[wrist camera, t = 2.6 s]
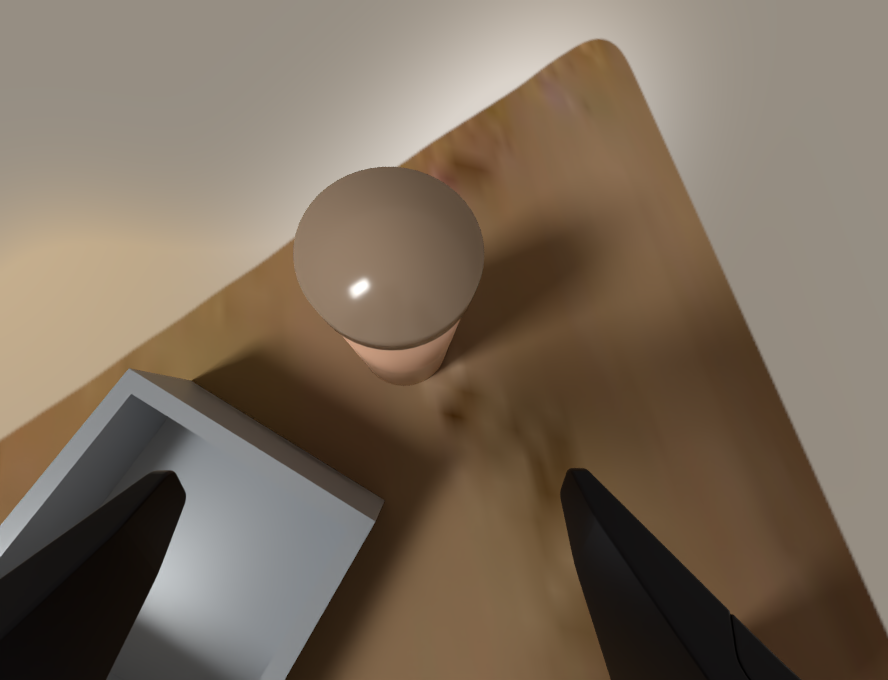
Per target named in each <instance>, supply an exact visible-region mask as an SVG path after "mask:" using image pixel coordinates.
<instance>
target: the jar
mask: <svg viewBox="0 0 888 680" xmlns="http://www.w3.org/2000/svg"><path fill="white" fill-rule="evenodd" d="M293 259H294V267H295V272H296V276H297V279H298V282H299V284H300V287H301V289H302V291H303V293H304V295H305V296H306V298H307V299H308V301H309V303H310V304H311V305H312V306H313V307H314V309H315V310H316V311H317V312H318V313H319V314H320V316H321V317H322V318H323V319H324V320H325V321H326V322H327V323H328V324H329V325H330V326H331V327H332V328H333V329H334V330H335V331H336V332H338V333H339V334H341V335H342V336H343V337H344V338H345V340H346V341H347V342H348V343H349V344H350V346H351V347H352V348H353V349H354V350H355V352H356V353H357V354H358V355H359V356H360V358H361V359H362V360H363V361H364V362H365V364H366V365H367V366H368V367H369V368H370V370H371V371H372V372H373V373H374V374H375V375H376V376H377V377H379V378H380V379H382V380H384V381H386V382H388V383H391V384H394V385H401V386H406V385H414V384H417V383H420V382H422V381H424V380H426V379H428V378H429V377H431V376H432V375H433V374H434V373H435V372H436V371H437V370H438V369H439V367H440V366H441V364H442V362H443V360H444V358H445V355H446V353H447V350H448V348H449V345H450V343H451V341H452V338H453V336H454V333H455V331H456V328H457V326H458V324H459V321H460V319H461V317H462V316H463V314H464V313H465V312H466V310H467V308H468V306H469V304H470V302H471V300H472V298H473V296H474V294H475V291H476V289H477V287H478V284H479V281H480V278H481V275H482V271H483V265H484V243H483V238H482V234H481V230H480V227H479V225H478V222H477V220H476V218H475V216H474V214H473V212H472V211H471V209H470V208H469V206H468V205H467V204H466V202H465V201H464V200H463V199H462V198H461V197H460V196H459V195H458V194H457V193H456V192H455V191H454V190H453V189H451V188H450V187H449V186H448V185H446V184H445V183H443V182H441V181H440V180H438V179H436V178H434V177H432V176H430V175H428V174H425V173H422V172H419V171H416V170H412V169H407V168H399V167H378V168H370V169H366V170H361V171H358V172H355V173H352V174H349V175H347V176H345V177H343V178H341V179H339V180H337V181H336V182H334V183H333V184H331V185H330V186H328V187H327V188H326V189H325V190H323V192H321V193H320V194H319V195H318V196H317V197H316V198H315V200H313V202H312V203H311V204H310V205H309V207H308V208H307V210H306V211H305V213H304V215H303V217H302V219H301V221H300V223H299V226H298V229H297V232H296V235H295V241H294V251H293Z"/></svg>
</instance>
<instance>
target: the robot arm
mask: <svg viewBox="0 0 888 680" xmlns="http://www.w3.org/2000/svg"><path fill="white" fill-rule="evenodd" d="M560 497H561V503H562V508H563V512H564V517H565V522H566V527H567V531H568V536H569V541H570V546H571V550H572V555H573V559H574V564H575V567H576V571H577V574H578V578H579V581H580V584H581V587H582V590H583V593H584V597H585V600H586V603H587V606H588V609H589V612H590V615H591V619H592V622H593V625H594V628H595V631H596V634H597V638H598V641H599V644H600V647H601V650H602V653H603V656H604V660H605V663H606V666H607V669H608V672H609V675H610V678H611V680H801V679H800V678H799V677H798V676H797V675H796V674H795V673H793V672H792V671H791V670H790V669H789V668H788V667H787V666H786V665H785V664H784V663H783V662H782V661H780V660H779V659H778V658H777V657H776V656H775V655H774V654H773V653H772V652H771V651H770V650H769V649H768V648H767V647H766V646H765V645H764V644H763V643H762V642H761V641H760V640H759V639H758V638H757V637H756V636H755V635H754V634H753V633H751V632H750V631H749V630H748V629H747V628H746V627H745V626H744V625H743V624H742V623H741V622H740V621H739V620H738V619H737V618H736V617H735V616H734V615H733V614H731V615H730V611H729V610H728V609H727V608H726V607H725V606H724V605H723V604H722V603H721V602H720V601H719V600H718V599H717V598H716V597H715V596H714V595H713V594H712V593H711V592H710V591H709V590H708V589H707V588H706V587H705V586H704V585H703V584H702V583H701V582H700V581H699V580H698V579H697V578H696V577H695V576H694V575H693V574H692V573H691V572H690V571H689V570H688V569H687V568H686V567H685V566H684V565H683V564H682V563H681V562H680V561H679V560H678V559H677V558H676V557H675V556H674V555H673V554H672V553H671V552H670V551H669V550H668V549H667V548H666V547H665V546H664V545H663V544H662V543H661V542H660V541H659V540H658V539H657V538H656V537H655V536H654V535H653V534H652V533H651V532H650V531H649V530H648V529H647V528H646V527H645V526H644V525H643V524H642V523H641V522H640V521H639V520H638V519H637V518H636V517H635V516H634V515H633V514H632V513H631V512H630V511H629V510H628V509H627V508H626V507H625V506H624V505H623V504H622V503H621V502H620V501H619V500H618V499H616V498H615V497H614V496H613V495H612V494H611V493H610V492H609V491H608V490H607V489H606V488H605V487H604V486H603V485H602V484H601V483H600V482H599V481H598V480H597V479H596V478H595V477H594V476H593V475H592V474H591V473H590V472H589V471H588V470H587V469H584V468H571V469H569V470H568V471H567V473H566V476H565V479H564V481H563V484H562V487H561V492H560ZM185 502H186V492H185V490H184V488H183V486H182V484H181V482H180V480H179V478H178V476H177V474H176V473H175V472H174V471H172V470H155V471H152V472H150V473H148V474H146V475H145V476H144V477H142V478H141V479H139V480H138V481H137V482H135V483H134V484H132V485H131V486H130V487H128V488H127V489H125V490H124V491H123V492H121V493H120V494H118V495H117V496H115V497H114V498H113V499H111V500H110V501H108V502H107V503H106V504H104V505H103V506H101V507H100V508H99V509H97V510H96V511H94V512H93V513H92V514H90V515H89V516H87V517H86V518H85V519H83V520H82V521H80V522H79V523H78V524H76V525H75V526H73V527H72V528H71V529H69V530H68V531H66V532H65V533H64V534H62V535H61V536H59V537H58V538H56V539H55V540H54V541H52V542H51V543H49V544H48V545H47V546H45V547H44V548H42V549H41V550H40V551H38V552H37V553H35V554H34V555H33V556H31V557H30V558H28V559H27V560H26V561H24V562H23V563H21V564H20V565H19V566H17V567H16V568H14V569H13V570H12V571H10V572H9V573H7V574H6V575H4V576H3V577H2V578H0V680H106V679H107V677H108V675H109V673H110V671H111V669H112V667H113V665H114V663H115V661H116V659H117V657H118V655H119V653H120V651H121V649H122V647H123V645H124V643H125V641H126V639H127V637H128V635H129V633H130V631H131V629H132V627H133V624H134V622H135V620H136V618H137V616H138V614H139V612H140V610H141V608H142V606H143V604H144V602H145V600H146V598H147V596H148V594H149V592H150V590H151V588H152V586H153V584H154V582H155V579H156V577H157V575H158V573H159V570H160V568H161V566H162V563H163V561H164V558H165V555H166V553H167V550H168V547H169V545H170V542H171V539H172V537H173V534H174V532H175V529H176V526H177V524H178V521H179V518H180V516H181V513H182V510H183V508H184V505H185Z"/></svg>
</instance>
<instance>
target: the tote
mask: <svg viewBox="0 0 888 680" xmlns="http://www.w3.org/2000/svg"><path fill="white" fill-rule="evenodd" d="M155 470H172V471H174V472H175V473H176V474H177V476H178V478H179V480H180V482H181V484H182V486H183V488H184V490H185V492H186V502H185V505H184V508H183V510H182V513H181V516H180V518H179V521H178V524H177V526H176V529H175V532H174V534H173V537H172V539H171V542H170V545H169V547H168V550H167V553H166V555H165V558H164V561H163V563H162V566H161V568H160V570H159V573H158V575H157V577H156V579H155V582H154V584H153V586H152V588H151V590H150V592H149V594H148V596H147V598H146V600H145V602H144V604H143V606H142V608H141V610H140V612H139V614H138V616H137V618H136V620H135V622H134V624H133V627H132V629H131V631H130V633H129V635H128V637H127V639H126V641H125V643H124V645H123V647H122V649H121V651H120V653H119V655H118V657H117V659H116V661H115V663H114V665H113V667H112V669H111V671H110V673H109V675H108V677H107V679H106V680H285V678H286V676H287V675H288V673H289V671H290V669H291V668H292V666H293V664H294V663H295V661H296V659H297V657H298V656H299V654H300V652H301V650H302V649H303V647H304V645H305V643H306V642H307V640H308V638H309V636H310V635H311V633H312V631H313V629H314V628H315V626H316V624H317V622H318V621H319V619H320V617H321V615H322V614H323V612H324V610H325V609H326V607H327V605H328V603H329V602H330V600H331V598H332V596H333V595H334V593H335V591H336V589H337V588H338V586H339V584H340V582H341V581H342V579H343V577H344V575H345V574H346V572H347V570H348V568H349V567H350V565H351V563H352V561H353V560H354V558H355V556H356V555H357V553H358V551H359V549H360V548H361V546H362V544H363V542H364V541H365V539H366V537H367V535H368V534H369V532H370V530H371V528H372V527H373V525H374V523H375V521H376V519H377V517H378V515H379V512H380V510H381V508H382V505H383V503H384V501H385V500H383V499H382V498H380V497H379V496H377V495H375V494H374V493H372V492H370V491H369V490H367V489H366V488H364V487H362V486H361V485H359V484H357V483H356V482H354V481H353V480H351V479H349V478H348V477H346V476H345V475H343V474H341V473H340V472H338V471H336V470H335V469H333V468H332V467H330V466H328V465H327V464H325V463H323V462H322V461H320V460H319V459H317V458H315V457H314V456H312V455H310V454H309V453H307V452H306V451H304V450H302V449H301V448H299V447H298V446H296V445H294V444H293V443H291V442H289V441H288V440H286V439H285V438H283V437H281V436H280V435H278V434H276V433H275V432H273V431H272V430H270V429H268V428H267V427H265V426H263V425H262V424H260V423H259V422H257V421H255V420H254V419H252V418H251V417H249V416H247V415H246V414H244V413H242V412H241V411H239V410H238V409H236V408H234V407H233V406H231V405H229V404H228V403H226V402H225V401H223V400H221V399H220V398H218V397H216V396H215V395H213V394H212V393H210V392H208V391H207V390H205V389H204V388H202V387H200V386H199V385H197V384H195V383H194V382H192V381H190V380H185V379H180V378H175V377H170V376H165V375H160V374H155V373H150V372H145V371H140V370H135V369H130V368H129V369H128V370H127V371H126V373H125V374H124V375H123V376H122V378H121V379H120V380H119V381H118V382H117V384H116V385H115V386H114V387H113V389H112V390H111V391H110V392H109V393H108V395H107V396H106V397H105V398H104V400H103V401H102V402H101V403H100V404H99V406H98V407H97V408H96V409H95V411H94V412H93V413H92V414H91V416H90V417H89V418H88V419H87V420H86V422H85V423H84V424H83V425H82V427H81V428H80V429H79V430H78V431H77V433H76V434H75V435H74V436H73V438H72V439H71V440H70V441H69V442H68V444H67V445H66V446H65V447H64V449H63V450H62V451H61V452H60V453H59V455H58V456H57V457H56V458H55V460H54V461H53V462H52V463H51V464H50V466H49V467H48V468H47V469H46V471H45V472H44V473H43V474H42V475H41V477H40V478H39V479H38V480H37V482H36V483H35V484H34V485H33V486H32V488H31V489H30V490H29V491H28V493H27V494H26V495H25V496H24V497H23V499H22V500H21V501H20V502H19V504H18V505H17V506H16V507H15V508H14V510H13V511H12V512H11V513H10V515H9V516H8V517H7V518H6V519H5V521H4V522H3V523H2V524H1V526H0V578H2V577H3V576H4V575H6V574H7V573H9V572H10V571H12V570H13V569H14V568H16V567H17V566H19V565H20V564H21V563H23V562H24V561H26V560H27V559H28V558H30V557H31V556H33V555H34V554H35V553H37V552H38V551H40V550H41V549H42V548H44V547H45V546H47V545H48V544H49V543H51V542H52V541H54V540H55V539H56V538H58V537H59V536H61V535H62V534H64V533H65V532H66V531H68V530H69V529H71V528H72V527H73V526H75V525H76V524H78V523H79V522H80V521H82V520H83V519H85V518H86V517H87V516H89V515H90V514H92V513H93V512H94V511H96V510H97V509H99V508H100V507H101V506H103V505H104V504H106V503H107V502H108V501H110V500H111V499H113V498H114V497H115V496H117V495H118V494H120V493H121V492H123V491H124V490H125V489H127V488H128V487H130V486H131V485H132V484H134V483H135V482H137V481H138V480H139V479H141V478H142V477H144V476H145V475H146V474H148V473H150V472H152V471H155Z"/></svg>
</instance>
